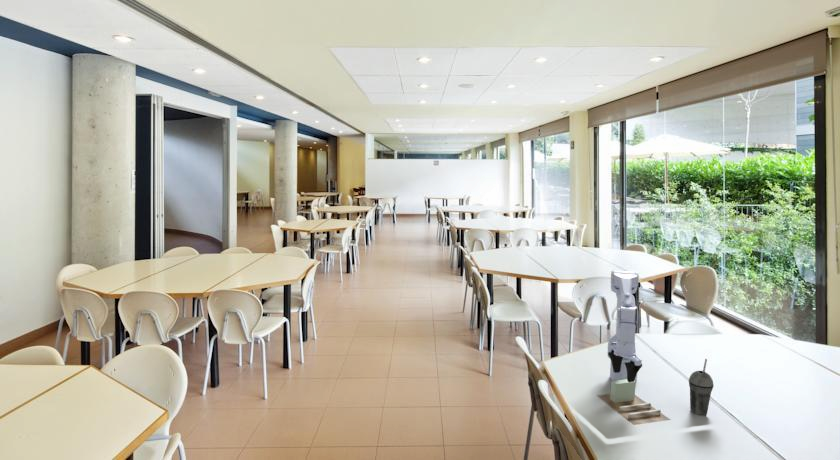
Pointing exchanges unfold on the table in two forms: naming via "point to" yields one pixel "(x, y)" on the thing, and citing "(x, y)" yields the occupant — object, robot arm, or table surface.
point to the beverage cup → (700, 391)
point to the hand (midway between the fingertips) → (623, 376)
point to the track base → (635, 410)
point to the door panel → (622, 391)
